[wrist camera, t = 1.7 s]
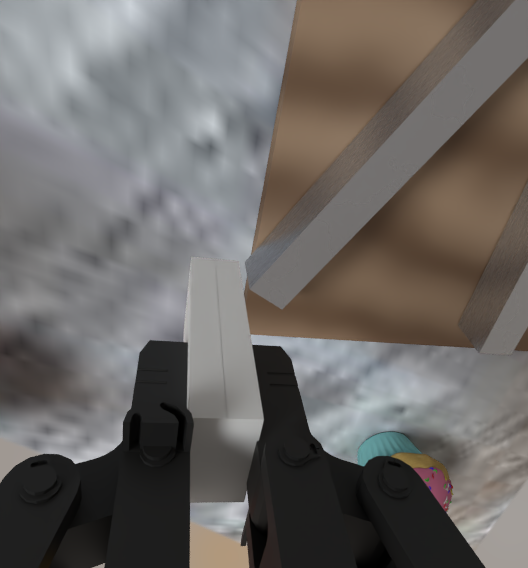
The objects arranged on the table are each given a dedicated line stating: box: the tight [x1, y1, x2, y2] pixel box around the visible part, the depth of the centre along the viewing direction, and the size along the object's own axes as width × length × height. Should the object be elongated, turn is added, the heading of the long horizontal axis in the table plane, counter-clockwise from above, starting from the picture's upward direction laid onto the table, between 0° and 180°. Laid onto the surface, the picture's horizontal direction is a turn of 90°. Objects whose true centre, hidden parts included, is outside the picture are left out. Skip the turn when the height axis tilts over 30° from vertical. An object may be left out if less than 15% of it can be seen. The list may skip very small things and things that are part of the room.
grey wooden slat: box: [245, 0, 528, 309], centre depth 24 cm, size 20×2×3 cm, turn 140°
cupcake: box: [358, 432, 453, 512], centre depth 37 cm, size 9×8×12 cm
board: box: [244, 0, 528, 351], centre depth 26 cm, size 30×23×1 cm
